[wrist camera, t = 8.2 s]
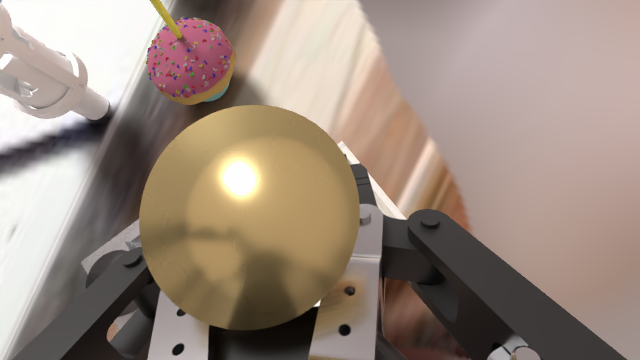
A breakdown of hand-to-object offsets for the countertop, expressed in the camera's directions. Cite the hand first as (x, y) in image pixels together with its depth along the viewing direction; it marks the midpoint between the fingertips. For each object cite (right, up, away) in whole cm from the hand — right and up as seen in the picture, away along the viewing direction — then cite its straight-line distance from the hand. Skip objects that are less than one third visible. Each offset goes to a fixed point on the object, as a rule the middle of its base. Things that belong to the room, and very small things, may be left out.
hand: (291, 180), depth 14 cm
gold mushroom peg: (+1, -3, +5) cm, 6 cm away
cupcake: (-11, +11, +22) cm, 27 cm away
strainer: (-24, +8, +23) cm, 34 cm away
